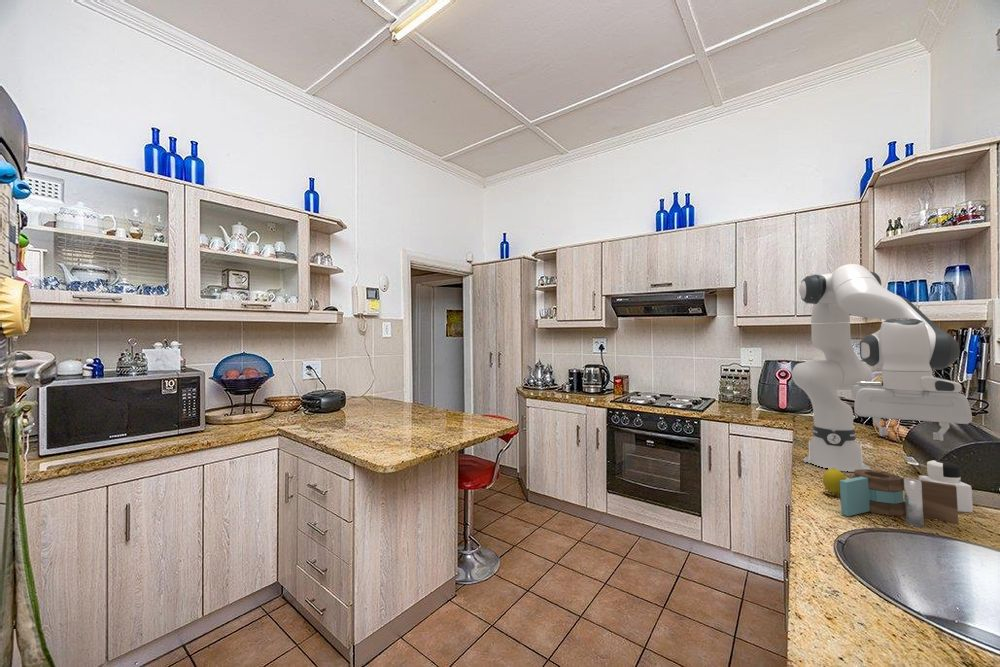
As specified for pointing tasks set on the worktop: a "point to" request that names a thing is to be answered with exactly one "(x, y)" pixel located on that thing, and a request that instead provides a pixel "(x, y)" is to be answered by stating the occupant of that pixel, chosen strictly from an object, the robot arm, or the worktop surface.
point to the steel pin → (913, 502)
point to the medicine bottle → (950, 482)
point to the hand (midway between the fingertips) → (910, 437)
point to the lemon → (833, 480)
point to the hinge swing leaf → (863, 496)
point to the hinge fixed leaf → (934, 496)
